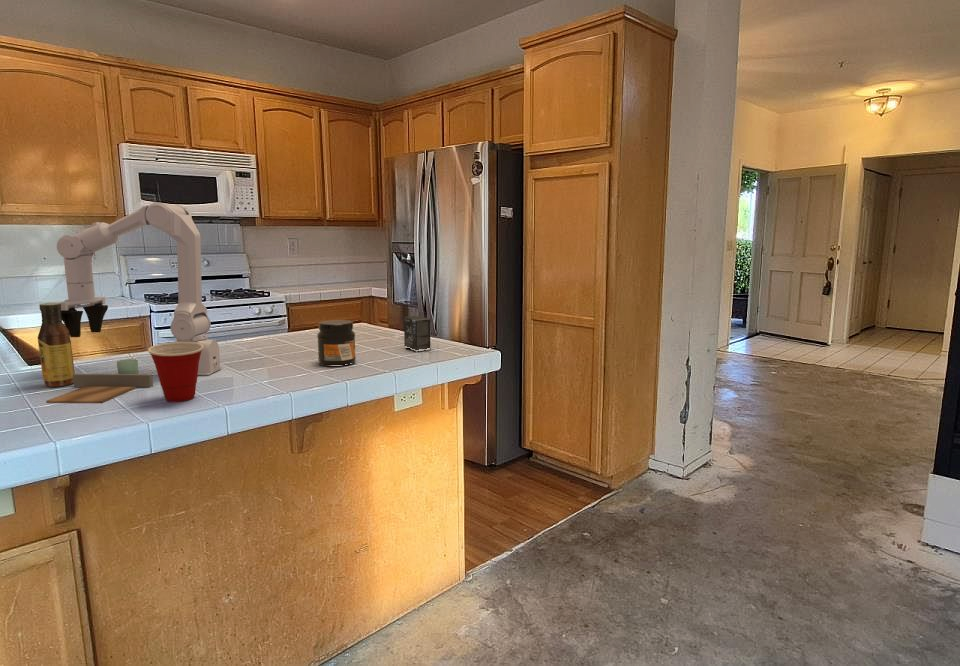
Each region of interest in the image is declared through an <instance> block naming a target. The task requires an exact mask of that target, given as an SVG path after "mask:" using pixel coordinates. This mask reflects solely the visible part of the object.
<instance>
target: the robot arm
mask: <svg viewBox="0 0 960 666" xmlns="http://www.w3.org/2000/svg"><path fill="white" fill-rule="evenodd" d="M192 216H193V215H192V213H191V212H190V211H188V210H187V209H186V208H185V207H183V206H182V205H180V204H176V203H175V204H174V203H173V204H169V203H163V202H160V201H159V202H153V203H152V202H151V204H149V205H143V206H142V207H140V208H139V209H136V210H135V211H133V212H131V213H129V214H127V215H126V216H124V217H121V218H120V219H118V220H116V221H115V220H114V221H113V222H112V223H107V222H103V221H101V222H99V221H96V222H93V223H91V225H92V226H91V227H89V228H86V229H84V230H77V231H75V235H70V234H65V235H63V236H62V237H60V238H58V240H57V243H56V251H57V252H58V254H59V255H60V256H61V257H63V263H64V264H63V265H64V273H65V279H66V280H65V281H66V289H67V290H66V291H67V299H64V301H60V302H58V303H61V318H62V323H63V324H64V325H65V326H66V327H67V328H68V330H69V333H70V338H80V337H81V334H82V333H81V331H82V330H81V327H82V326H81V323H82V316H83V314H84V312H85V314H86V317H87V319H88V324H89V330H90V332H91V333H101V332H102V325H103V321H104V317H105V315H106V312H107V311H108V309H109V306H108V304H106V298H105V296H96V293H95V292H96V291H95V283H94V276H93V275H94V273H93V266H92V265H93V264H92V263H93V256H94V255H95V253H96V252H98V251H100V250H102V249H106V248H107V247H109V246H112V245H114V244H116V243H118V238H119V237H120V236H121V235H123V234H126V233H127V234H128V233H129V232H132V231H134V230H137V229H140V228H142V227H144V226H145V227H146V226H152V227H153V228H155V229H157V230H160V231H162V232H164V233H166V234H168V235H169V237H171V238H172V239H173V240H174V241H176V247H177V248H176V249H177V250H176V251H177V253H176V254H177V255H176V256H177V290H178V293H177V294H178V296H177V297H178V298H177V299H178V304H177V305H176V307H175V309H174V311H173V319H172V320H171V324H170V333H171V334H172V336H173V337H174V338H175V339H176V342H194V343H199V344H202V345H203V347H204V348H203V350H202V351H201V355H200V360H199V366H198V375H197V376H210V375H212V374H214V373H215V372H218V371H220V370H221V369H222V366H221V361H220V358H221V357H220V347H219V346H220V345H219V343H218V341H217V340H215V339H209V338H208V332H209V331H210V329H211V326H212V324H211V320H210V319H211V318H210V317H209V315H208V309H207V307H206V306H205V305H204V304H203V302H202V297H203V295H202V254H201V253H202V241H201V240H202V239H201V238H202V237H201V233H200V232H199V230H198V228H197V226H196V224H195V221H194V220H193V218H192ZM79 308H83V310H77V309H79Z"/></svg>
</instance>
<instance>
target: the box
mask: <svg viewBox="0 0 960 666" xmlns="http://www.w3.org/2000/svg"><path fill="white" fill-rule="evenodd" d="M403 318H404V319H403V334H404V336H403V338H404V339H403V340H404V344H403V345H404V346H407V347H410V348H412V349H415V350H419V349H427V348H430V349H431V318H428V317H423V316H420V315H413V316H412V315H411V316H404V317H403Z"/></svg>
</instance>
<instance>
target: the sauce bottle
mask: <svg viewBox="0 0 960 666" xmlns="http://www.w3.org/2000/svg"><path fill="white" fill-rule="evenodd" d="M38 306H39V311H40V314H41V324H40V325H41V326H40V327H39V333H38V335H37V344H38V352H39V358H40V365H41V373H42V380H43V382H44V385H45V386H46V387H47V388H59V387H66V386H70V385H72V384H73V385H74V380H73V375H74V374H76V371H75V364H74V356H73V347H72V340H71V337H70V333H69V330H68V328H67V327H66V326H65V324H64V322H63V321H62V318H61V303H59V302H45V303H40V304H39V305H38Z"/></svg>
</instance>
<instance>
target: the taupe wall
mask: <svg viewBox="0 0 960 666" xmlns="http://www.w3.org/2000/svg"><path fill="white" fill-rule="evenodd" d="M73 380H74V383H73V387H74V388H81V387H84V386H91V387H135V388H152V387H154V381H153V373H139V374H118V373H75V374H74V375H73Z"/></svg>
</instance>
